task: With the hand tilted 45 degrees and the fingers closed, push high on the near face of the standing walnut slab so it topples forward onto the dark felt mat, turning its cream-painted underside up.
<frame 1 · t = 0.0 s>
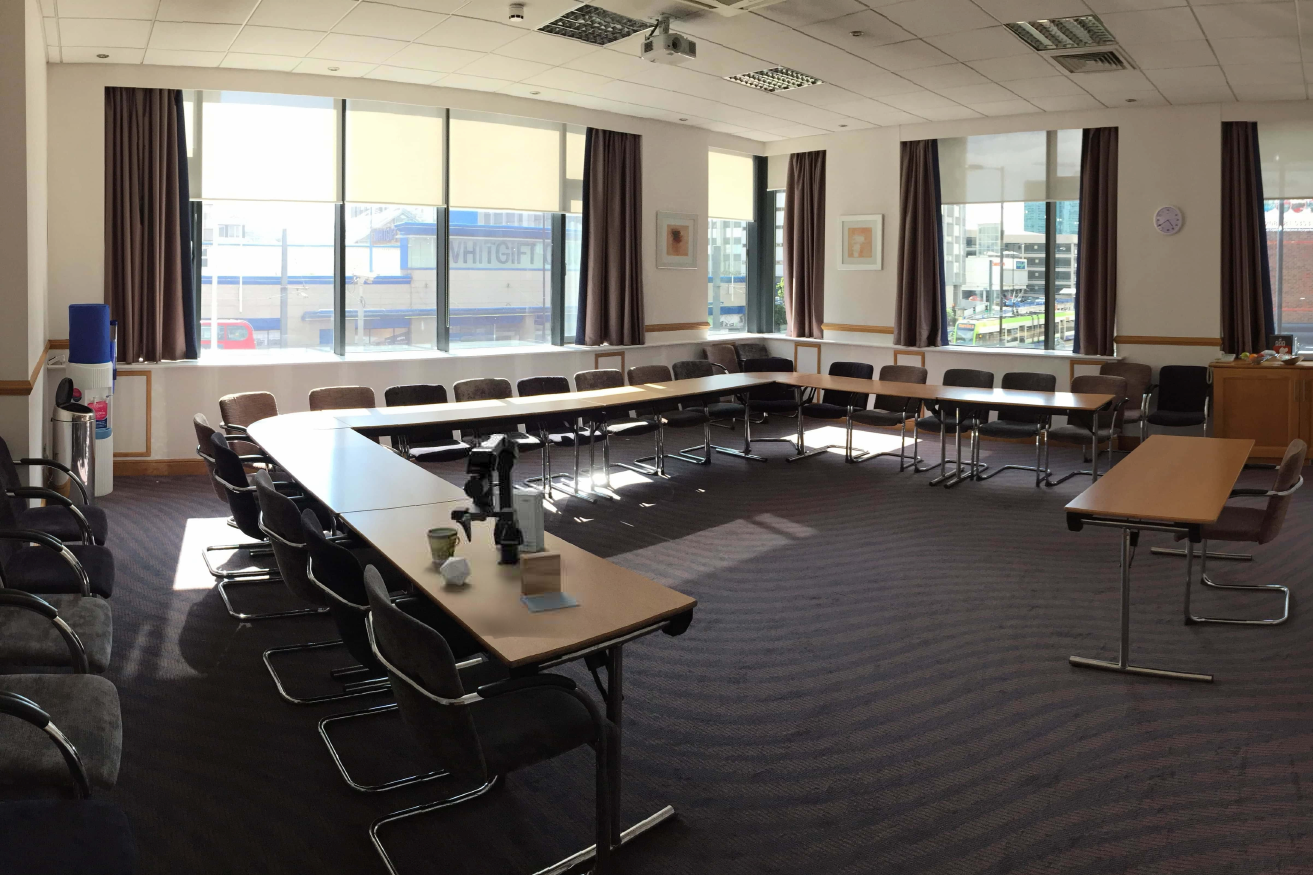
hand: (485, 542, 277), 15 cm above the table, tool pointing down, fingers open, 9 cm apart
ceramic cup: (446, 561, 309), on the table
die: (455, 583, 286), on the table
hard drive box: (520, 548, 324), on the table
walnut slab: (541, 593, 277), on the table
felt mat: (550, 602, 269), on the table
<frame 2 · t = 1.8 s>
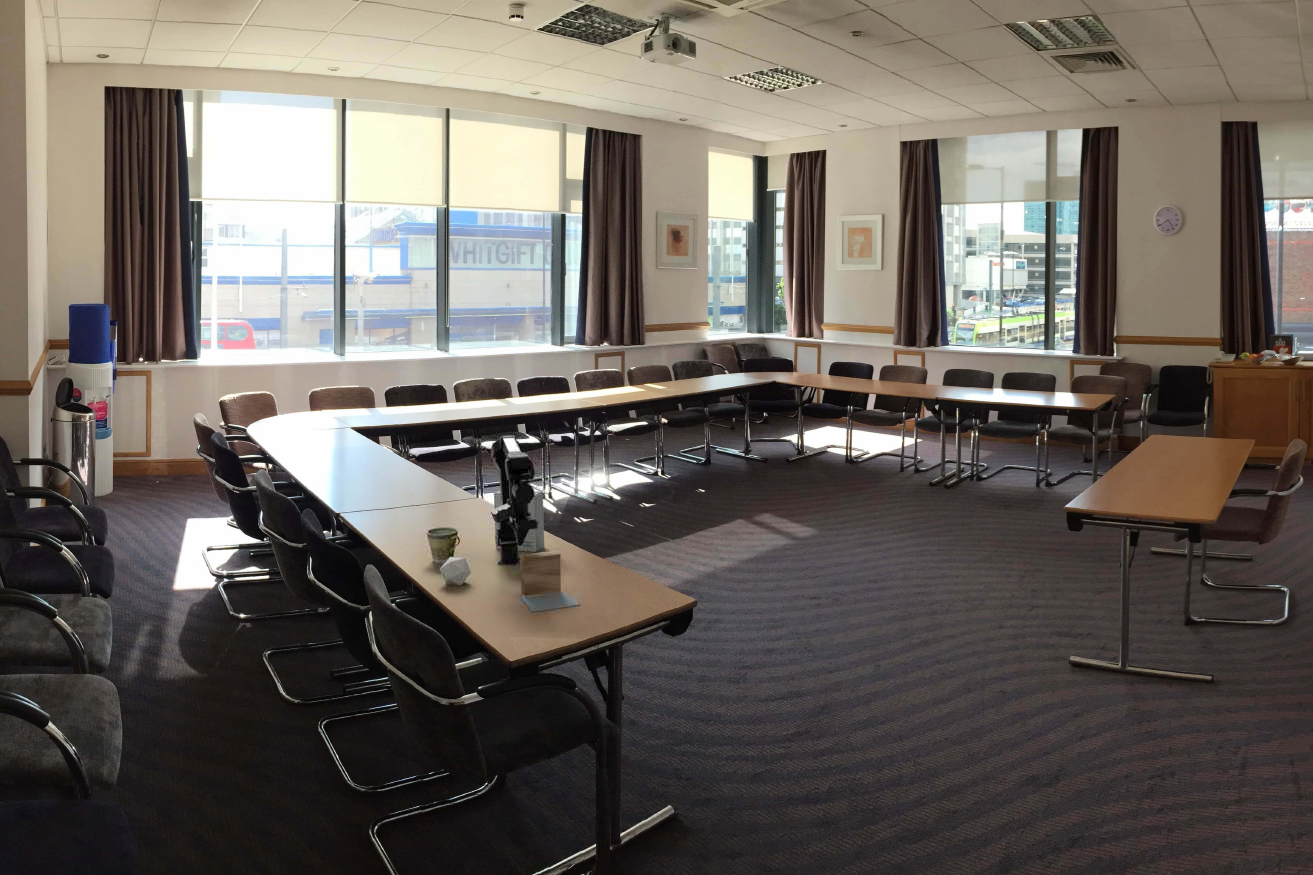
hand: (519, 545, 287), 11 cm above the table, tool pointing down, fingers closed
nothing on the table moved.
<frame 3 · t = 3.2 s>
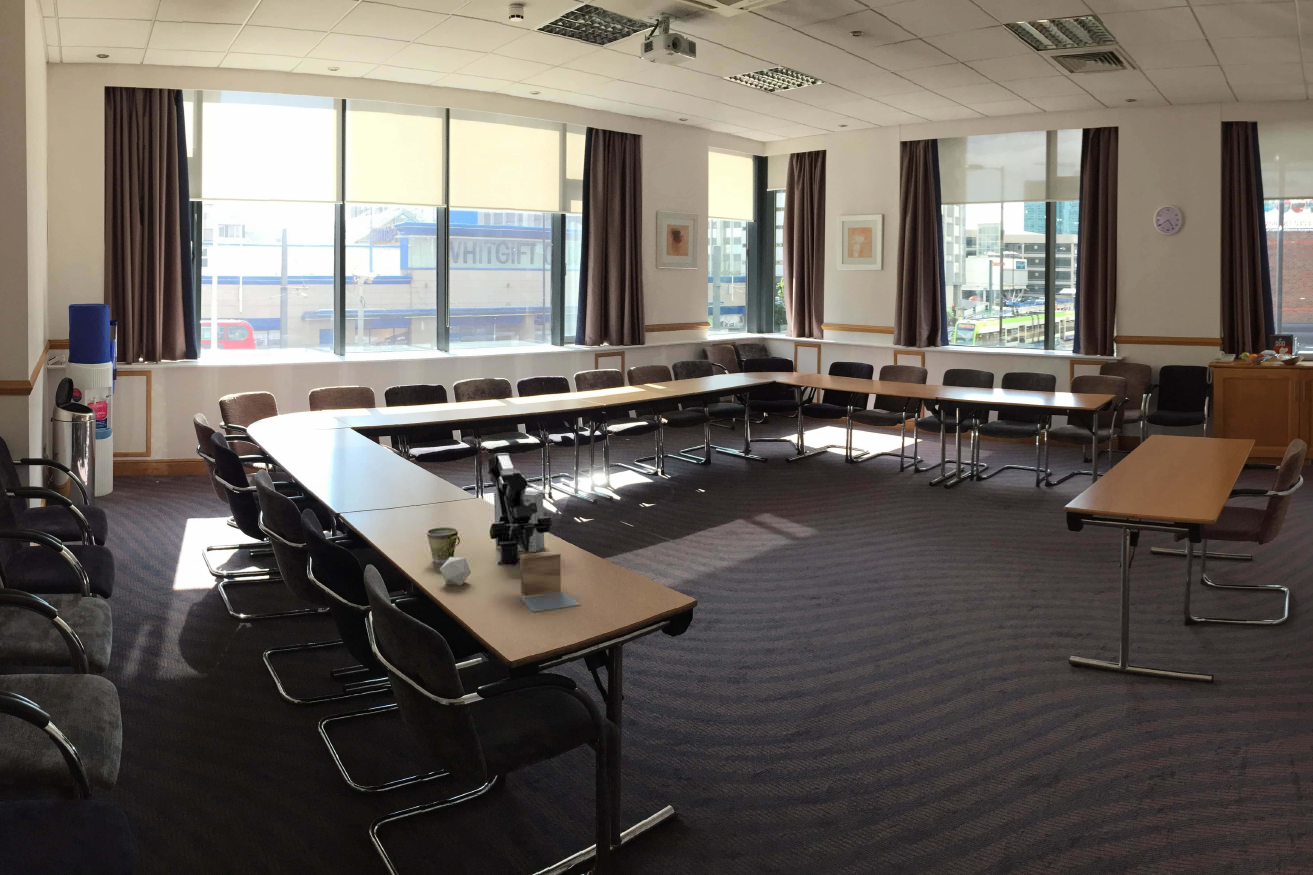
hand: (526, 551, 283), 10 cm above the table, tool tilted 45°, fingers closed
nothing on the table moved.
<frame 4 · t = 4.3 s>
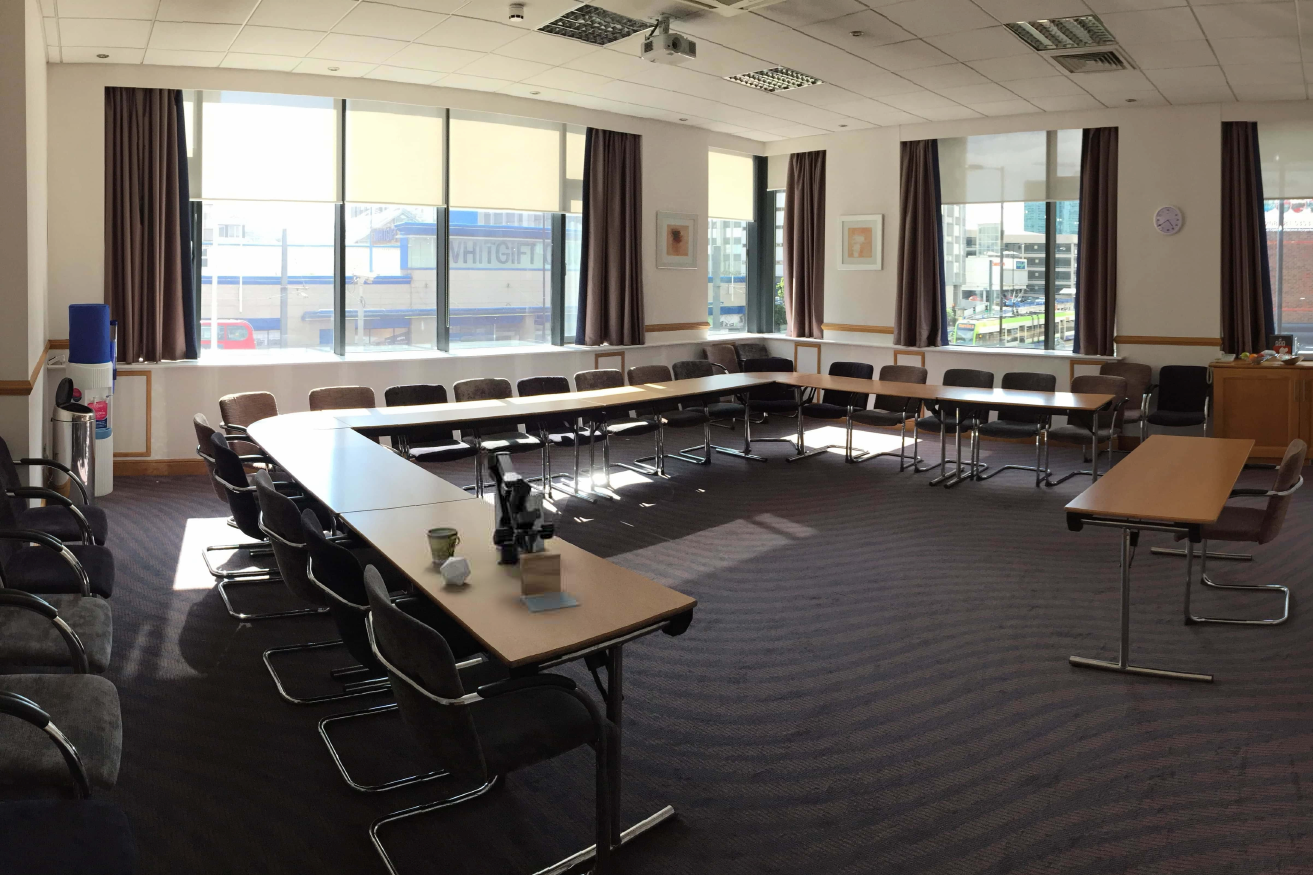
hand: (530, 557, 281), 9 cm above the table, tool tilted 45°, fingers closed
nothing on the table moved.
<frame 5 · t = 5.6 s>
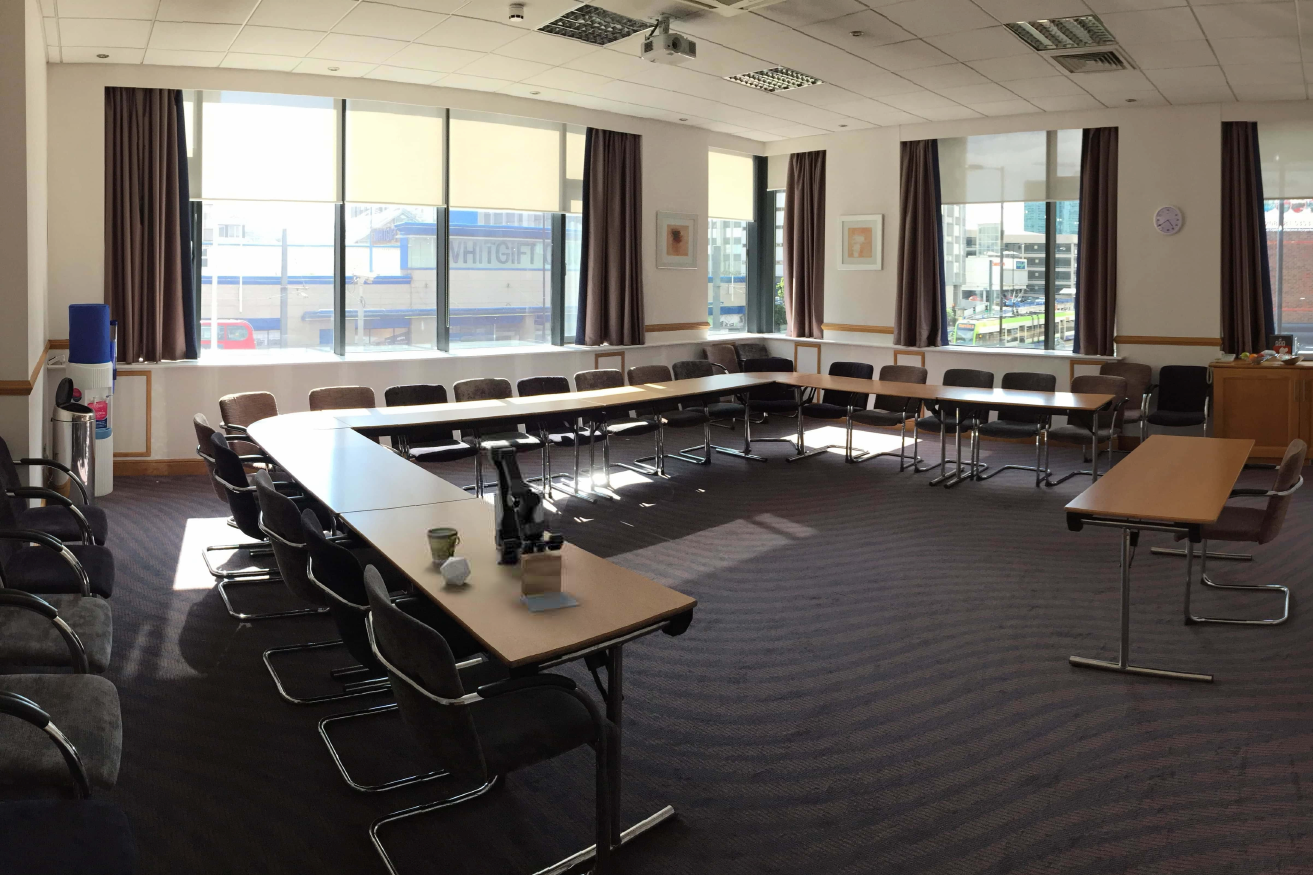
hand: (538, 569, 277), 7 cm above the table, tool tilted 45°, fingers closed
walnut slab: (541, 593, 277), on the table, tilted 5°
everything else where it was.
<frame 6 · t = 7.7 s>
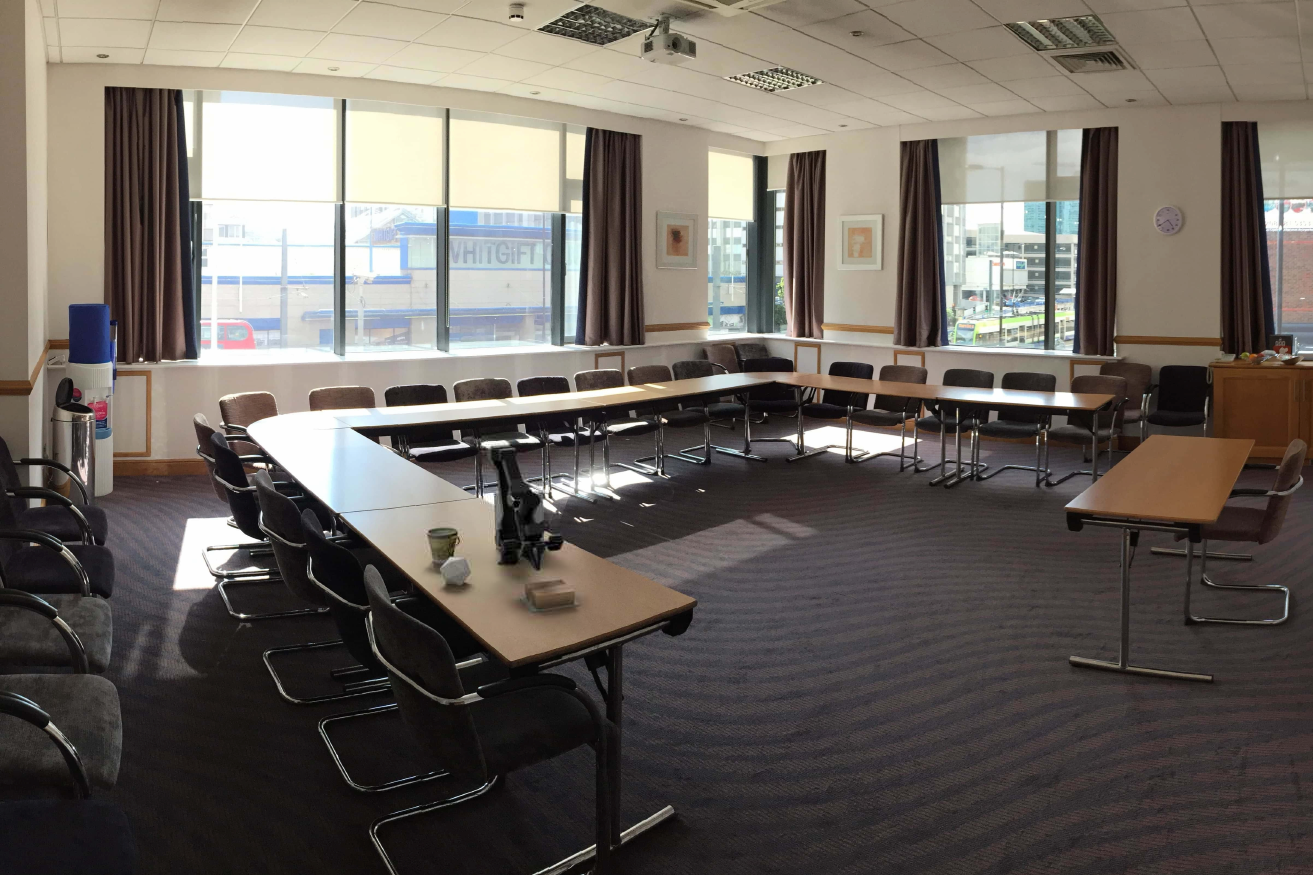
hand: (538, 570, 278), 6 cm above the table, tool tilted 45°, fingers closed
walnut slab: (542, 587, 275), point 2 cm above the table, tilted 90°, touching felt mat
everything else where it was.
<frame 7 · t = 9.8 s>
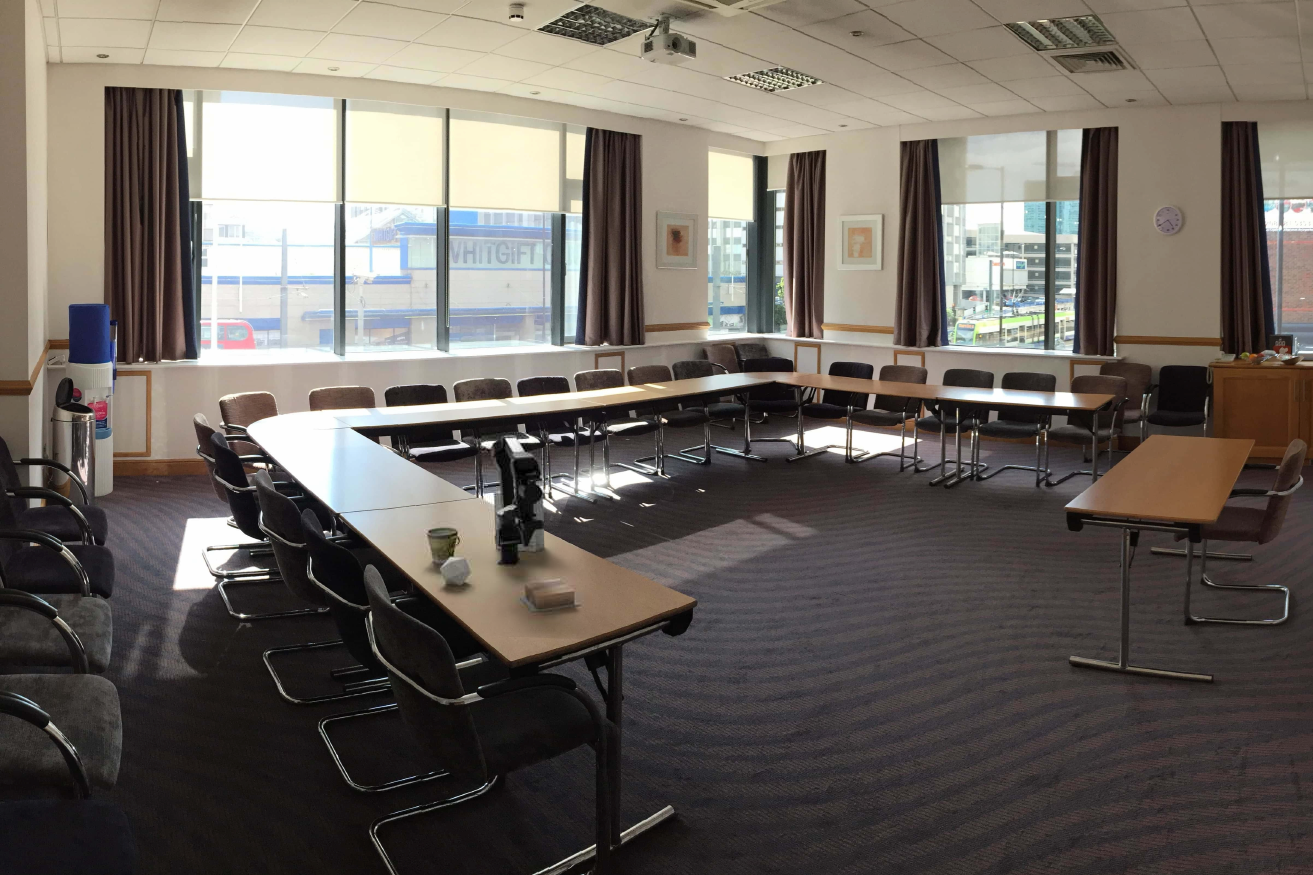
hand: (525, 546, 286), 11 cm above the table, tool pointing down, fingers closed
nothing on the table moved.
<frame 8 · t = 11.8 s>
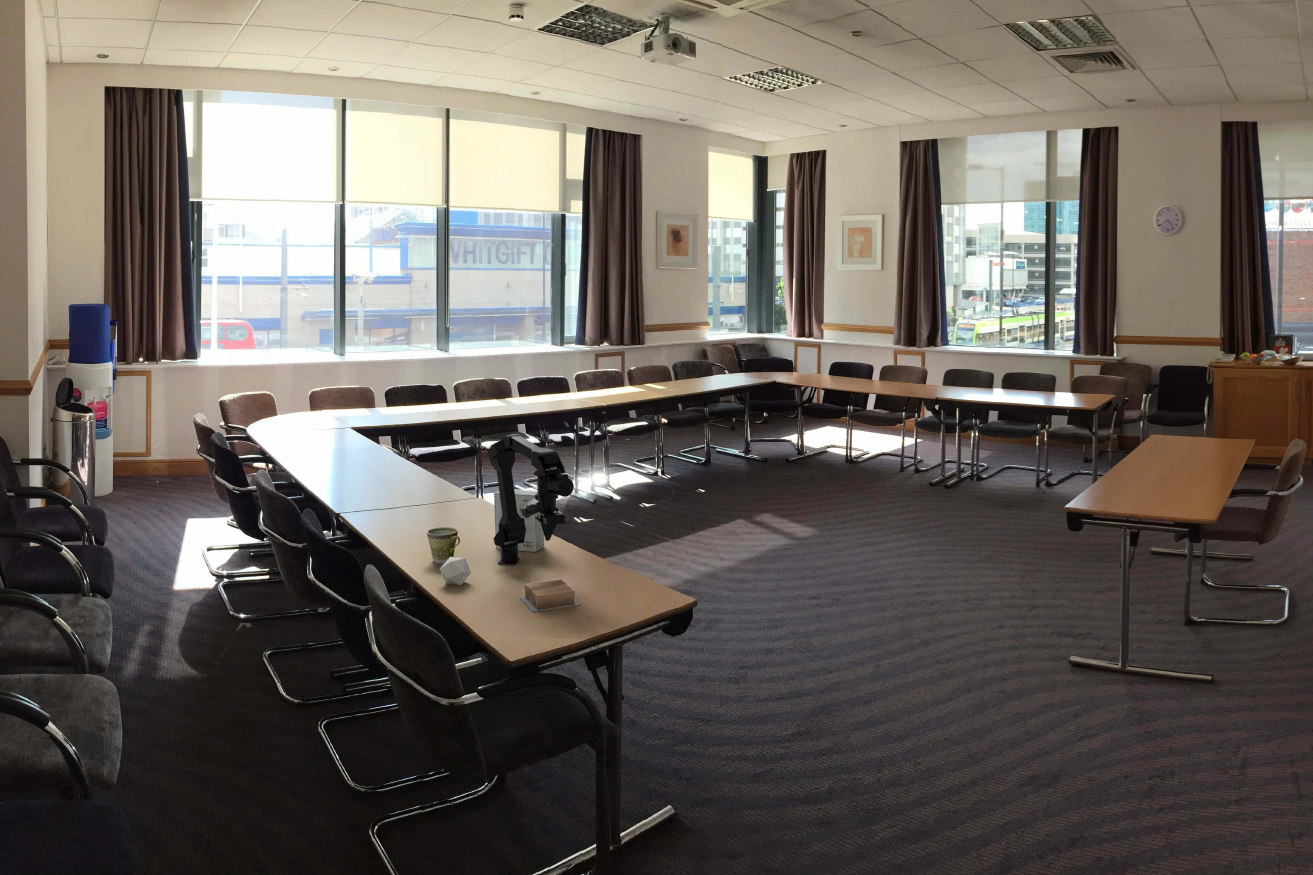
hand: (547, 540, 289), 12 cm above the table, tool pointing down, fingers closed
nothing on the table moved.
at the end: walnut slab tilted 90°; walnut slab moved 3.0 cm from its start; walnut slab inside the target area (6.7 cm from its centre), point 2.3 cm above the table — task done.
